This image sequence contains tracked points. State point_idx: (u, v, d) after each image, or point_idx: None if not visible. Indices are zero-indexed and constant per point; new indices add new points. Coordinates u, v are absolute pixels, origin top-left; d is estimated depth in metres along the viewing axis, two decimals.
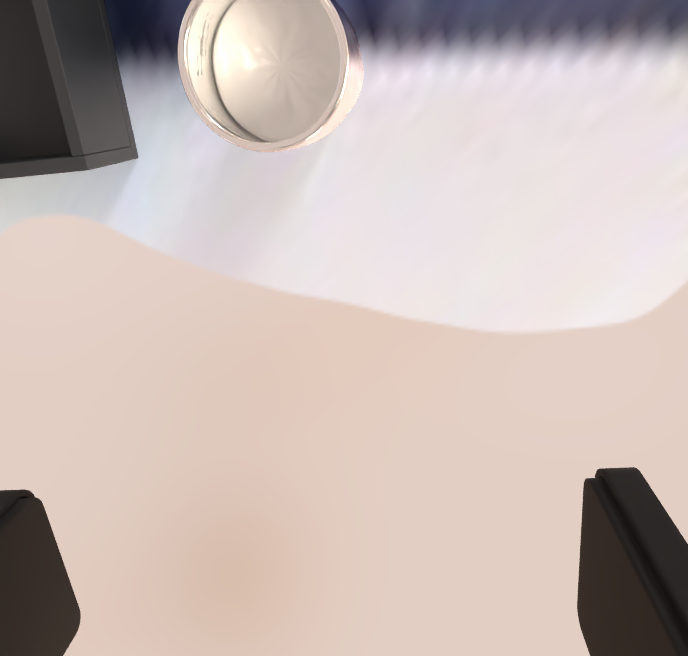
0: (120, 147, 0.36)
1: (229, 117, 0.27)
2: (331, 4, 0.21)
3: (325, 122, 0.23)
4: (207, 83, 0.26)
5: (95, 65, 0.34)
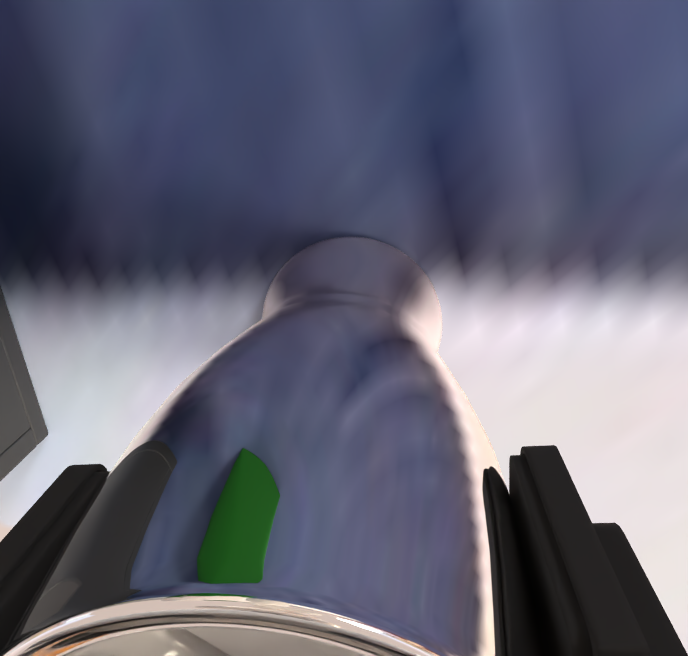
0: (5, 449, 0.20)
1: (176, 630, 0.11)
2: None
3: None
4: None
5: None
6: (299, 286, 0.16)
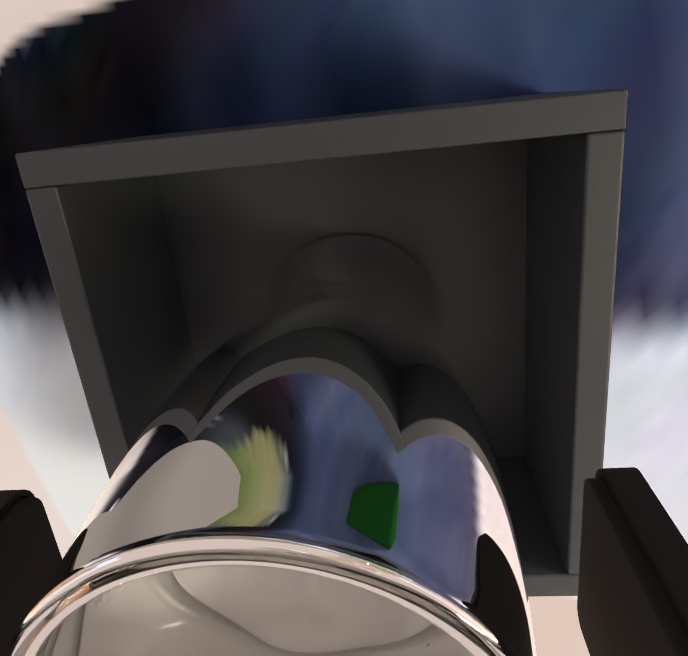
0: None
1: (189, 601, 0.12)
2: None
3: None
4: None
5: None
6: (302, 281, 0.17)
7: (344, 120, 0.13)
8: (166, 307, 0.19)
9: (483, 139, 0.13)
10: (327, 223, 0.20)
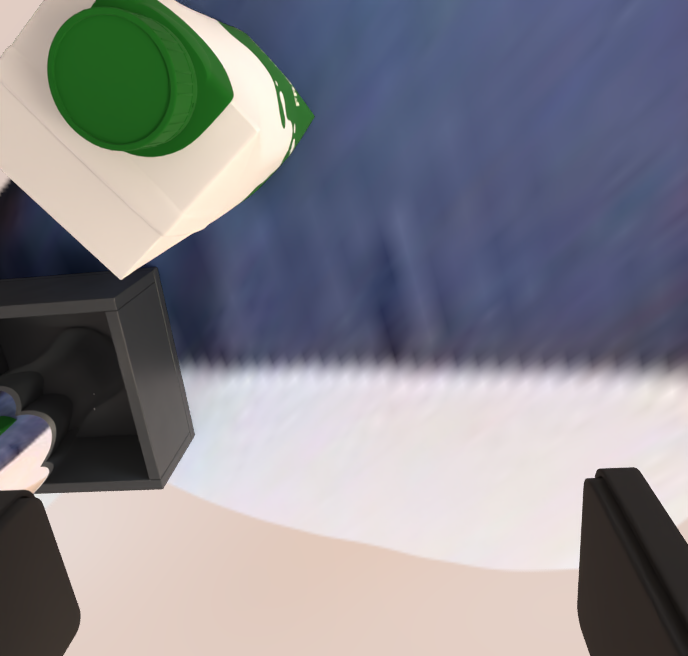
0: (183, 442, 0.43)
1: None
2: None
3: None
4: None
5: (165, 391, 0.41)
6: (37, 354, 0.39)
7: (20, 305, 0.35)
8: None
9: (70, 312, 0.35)
10: (66, 322, 0.42)
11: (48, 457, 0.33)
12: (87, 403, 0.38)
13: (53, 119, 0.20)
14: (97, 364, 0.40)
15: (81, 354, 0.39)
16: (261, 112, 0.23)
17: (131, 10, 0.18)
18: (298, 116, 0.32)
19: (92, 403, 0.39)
